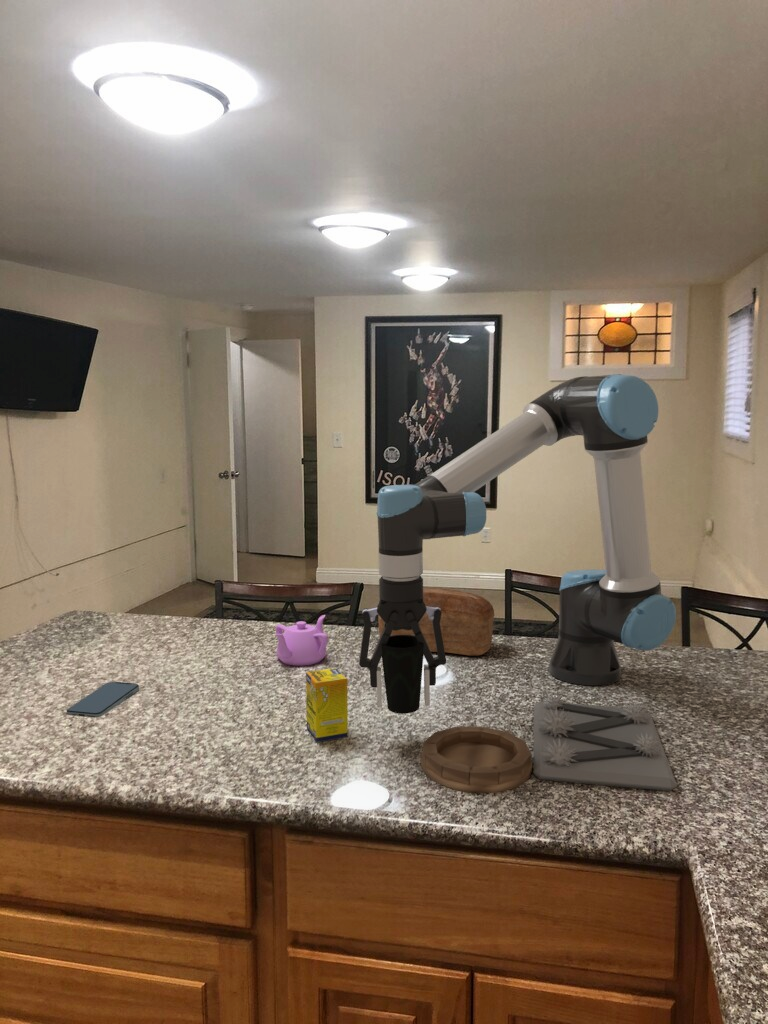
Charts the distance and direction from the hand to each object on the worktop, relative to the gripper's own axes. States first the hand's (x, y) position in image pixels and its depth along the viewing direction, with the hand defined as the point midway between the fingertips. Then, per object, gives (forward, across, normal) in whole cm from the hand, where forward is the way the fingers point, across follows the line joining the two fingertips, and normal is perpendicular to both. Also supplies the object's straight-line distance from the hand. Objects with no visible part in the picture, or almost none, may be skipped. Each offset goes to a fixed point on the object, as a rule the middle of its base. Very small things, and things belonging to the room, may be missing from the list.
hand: (403, 703), depth 135 cm
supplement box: (+7, +14, -3) cm, 15 cm away
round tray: (+7, -11, +10) cm, 17 cm away
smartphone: (+6, +59, -19) cm, 62 cm away
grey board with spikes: (+8, -33, +3) cm, 34 cm away
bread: (+8, -10, -52) cm, 53 cm away
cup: (+1, 0, 0) cm, 1 cm away
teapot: (+7, +22, -44) cm, 49 cm away
